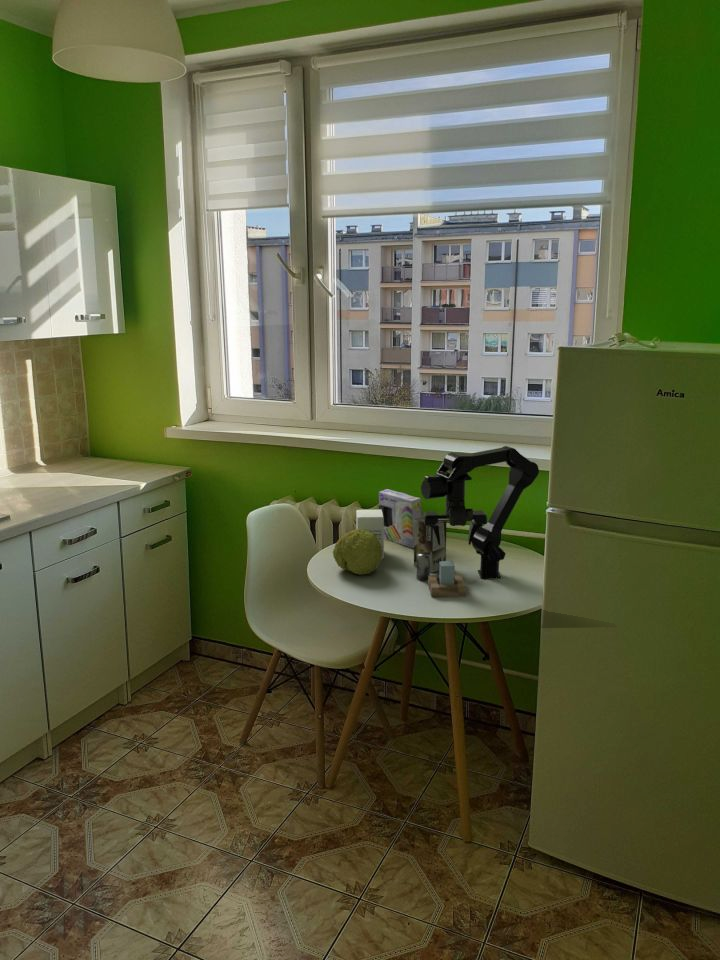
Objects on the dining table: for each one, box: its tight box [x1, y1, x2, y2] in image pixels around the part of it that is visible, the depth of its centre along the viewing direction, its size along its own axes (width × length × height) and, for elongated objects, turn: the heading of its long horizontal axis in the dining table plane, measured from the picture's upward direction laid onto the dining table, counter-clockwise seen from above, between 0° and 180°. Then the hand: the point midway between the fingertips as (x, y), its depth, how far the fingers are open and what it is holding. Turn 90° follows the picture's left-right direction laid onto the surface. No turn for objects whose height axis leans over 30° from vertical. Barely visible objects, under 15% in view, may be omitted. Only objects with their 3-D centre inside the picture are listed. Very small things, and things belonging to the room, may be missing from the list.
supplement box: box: [355, 509, 385, 560], centre depth 260 cm, size 9×9×15 cm
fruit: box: [332, 528, 383, 576], centre depth 245 cm, size 16×14×15 cm
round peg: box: [416, 552, 431, 582], centre depth 240 cm, size 4×4×8 cm
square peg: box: [438, 560, 456, 585], centre depth 230 cm, size 4×4×8 cm
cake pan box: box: [377, 488, 422, 549], centre depth 273 cm, size 19×5×18 cm, turn 38°
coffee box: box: [413, 515, 447, 573], centre depth 248 cm, size 9×6×16 cm
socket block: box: [427, 574, 467, 598], centre depth 231 cm, size 10×10×3 cm
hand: (454, 544), depth 235 cm, fingers open, 9 cm apart
